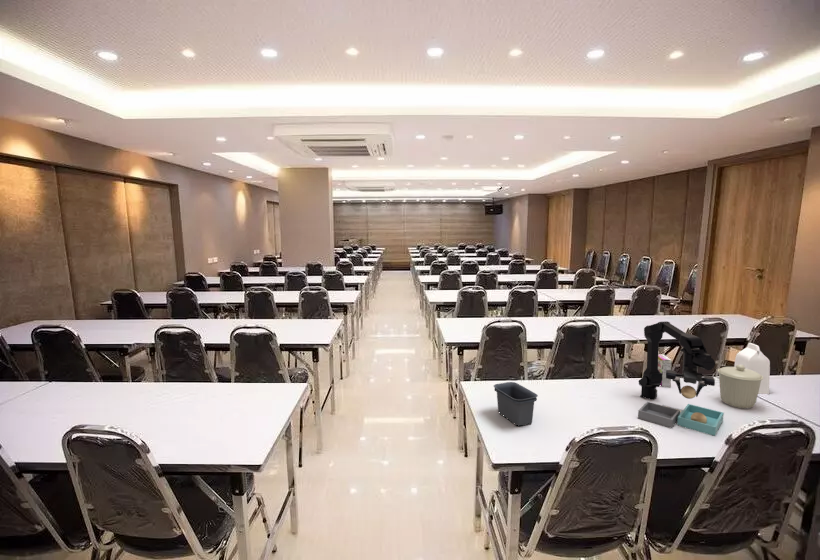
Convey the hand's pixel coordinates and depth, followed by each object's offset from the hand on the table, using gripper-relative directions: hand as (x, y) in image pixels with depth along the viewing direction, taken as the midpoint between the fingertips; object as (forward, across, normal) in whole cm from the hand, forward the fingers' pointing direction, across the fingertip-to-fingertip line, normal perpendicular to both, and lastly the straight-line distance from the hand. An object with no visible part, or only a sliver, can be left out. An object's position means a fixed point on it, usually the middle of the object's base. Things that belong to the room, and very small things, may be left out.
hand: (688, 395), depth 188 cm
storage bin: (+12, -69, -41) cm, 81 cm away
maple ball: (-2, 0, 0) cm, 2 cm away
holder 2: (+12, +5, -1) cm, 13 cm away
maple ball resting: (+9, +4, -5) cm, 11 cm away
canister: (+12, +22, +33) cm, 42 cm away
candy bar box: (+12, -11, +46) cm, 49 cm away
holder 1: (+12, -11, -6) cm, 17 cm away
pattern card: (+12, -6, +8) cm, 16 cm away
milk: (+12, +30, +61) cm, 69 cm away
